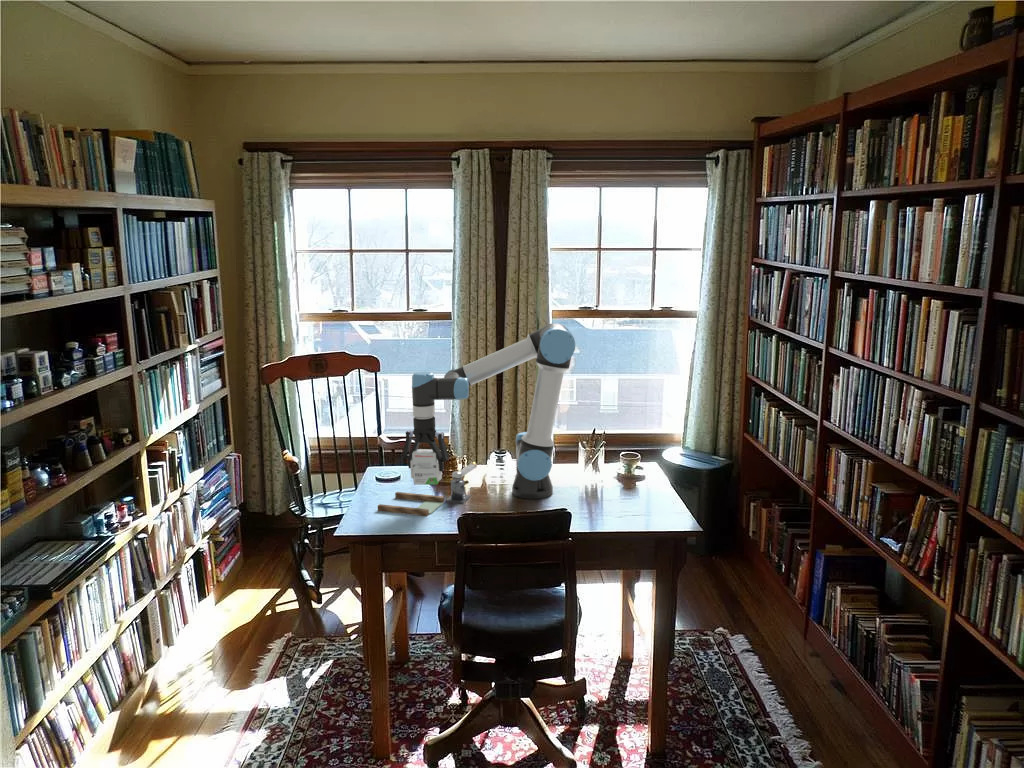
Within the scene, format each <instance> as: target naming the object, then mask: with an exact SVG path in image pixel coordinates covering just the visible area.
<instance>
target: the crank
mask: <svg viewBox="0 0 1024 768" xmlns="http://www.w3.org/2000/svg"><path fill="white" fill-rule="evenodd" d="M477 467H478V465H477V462H475V461H472V463H470V464H468V465H467V466H465V467H463V468H462V469H460V470H454V471H452V474H451V475H452V476H451V477H452V480H454V479H462V480H463V477H464V476H466V475H467V474H468V473H470V472H472V471H473V470H474V469H477Z"/></svg>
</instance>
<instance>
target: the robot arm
mask: <svg viewBox="0 0 1024 768" xmlns="http://www.w3.org/2000/svg"><path fill="white" fill-rule="evenodd" d="M575 350H576V341H575V337H574V335H573V334H572V333H571V331H570V330H569V329H568V328H567V327H566V326H565V325H563V324H561V323H557V322H553V323H548V324H546V325H544V326H543V327H541V328H539V329H537V330H535V331H533V332H531V333H528V334H527V336H526V338H523V339H522V340H519V341H517V342H515V343H512V344H510V345H508V346H506V347H504V348H502V349H500V350H497V351H494V352H492V353H489V354H488V355H486V356H483V357H481V358H479V359H477V360H474V361H472V362H470V363H467V364H465V365H463V366H460V367H458V368H455V369H454V368H453V369H450V370H448V371H447V372H446V373H445V374H444V377H435V376H434V375H435V374H434V373H433V372H431V371H418V372H414V373H413V375H411V393H412V416H413V430H411V429H409V430H407V431H406V432H405V443H404V448H403V452H402V453H403V454H402V458H404V459H407V462H408V463H407V464H408V469H410V479H413V461H412V453H413V451H415V450H417V449H419V447H420V444H422V443H423V444H428V446H430V448H431V449H432V450H433V452H435V453H436V458H437V460H438V462H437V463H436V471H437V481H439V482H440V481H441V480H442V479H443V473H442V472H443V471H444V469H445V465H444V463H445V462H447V461H448V460H450V459H449V453H448V449H447V447H446V446H447V445H446V441H445V433H444V432H437V430H436V417H435V415H436V410H435V409H436V407H435V401H437V400H439V401H440V400H443V401H444V400H455V401H456V400H457V401H460V400H467V399H468V398H469V395H470V393H469V392H470V388H469V387H470V386H473V385H474V384H477V383H480V382H481V381H484V380H487V379H488V378H491V377H493V376H496V375H498V374H501V373H502V372H504V371H507V370H509V369H512V368H514V367H516V366H518V365H522V364H523V363H526V362H528V361H531V360H533V359H536V361H535V363H536V365H537V366H538V373H537V377H536V378H537V379H536V381H535V388H534V394H533V397H532V398H533V399H532V404H531V409H530V415H529V420H528V426H527V431H523V432H519V433H517V434H516V436H515V455H516V456H515V458H516V474H515V477H514V480H513V483H512V487H511V488H512V489H511V491H512V495H513V496H515V497H516V498H519V499H526V500H537V499H538V500H539V499H544V498H547V497H549V496H551V495H552V494H553V493H554V491H553V490H554V489H553V488H554V487H553V483H552V480H551V477H550V472H551V469H552V467H553V464H552V456H553V452H554V446H555V442H554V441H553V440H552V435H553V434H552V433H553V428H554V423H555V418H556V414H557V409H558V403H559V397H560V393H561V389H562V388H561V387H562V383H563V378H564V374H565V372H566V371H568V370H569V369H570V366H571V360H572V357H573V355H574V353H575V352H576V351H575ZM413 437H415V440H414V442H413V445H412V440H413ZM435 437H436V439H437V440H436V439H435ZM437 442H438V444H437ZM411 445H412V447H411Z"/></svg>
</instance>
